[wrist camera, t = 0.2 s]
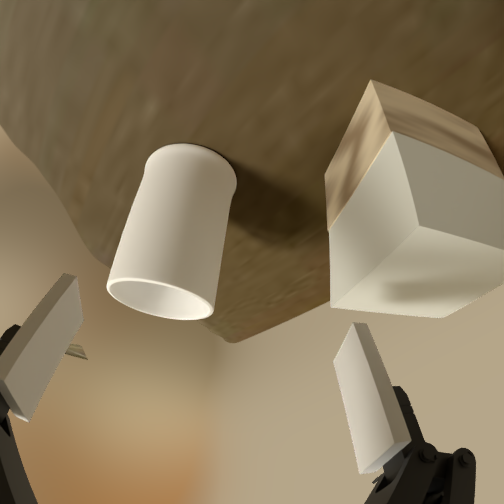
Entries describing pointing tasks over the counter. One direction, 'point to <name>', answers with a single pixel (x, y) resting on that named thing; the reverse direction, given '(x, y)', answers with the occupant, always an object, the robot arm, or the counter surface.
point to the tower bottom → (406, 123)
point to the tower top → (418, 234)
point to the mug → (175, 234)
